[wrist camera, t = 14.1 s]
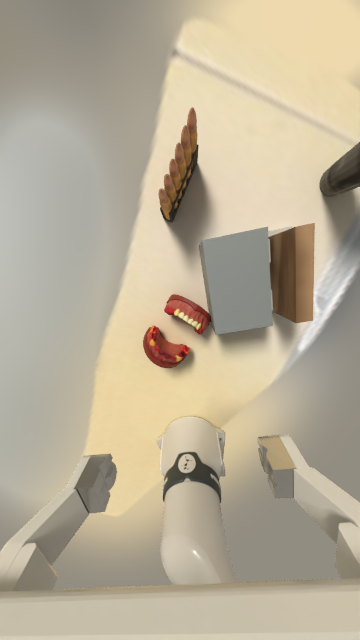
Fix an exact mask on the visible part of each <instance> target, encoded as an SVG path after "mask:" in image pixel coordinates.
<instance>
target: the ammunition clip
mask: <svg viewBox="0 0 360 640" xmlns="http://www.w3.org/2000/svg"><path fill="white" fill-rule="evenodd" d="M196 123H197V121H196V113H195V110H194V108H193V107H192V108H191V109H190V111H189V114H188V120H187V126H186V125H185V126H184V127H183V130H182V134H181V144H180V143H177V145H176V149H175V160H174V159H171V161H170V166H169V170H170V175H168V174H166V175H165V177H164V186H165V190H164V189H162V188H161V189H160V190H159V199H160V205H161V208H160V210H161V212H162V215H163V218H164V219H166V220H168V221H170V222H172V221H173V219H174V217H175V214H176V212H177V210H178V207H179V205H180V202H181V200H182V198H183V195H184V193H185V191H186V188H187V186H188V183H189V181H190V179H191V176H192V174H193V172H194V169H195V167H196V164H197V158H198V145H197V126H196Z"/></svg>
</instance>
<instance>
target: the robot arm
mask: <svg viewBox="0 0 360 640" xmlns="http://www.w3.org/2000/svg"><path fill="white" fill-rule="evenodd" d="M224 443H225V432H224V431H223V430H221V429H218V428H215V427H214V426H213V425H211V424H210V423H209V422H208V421H206V420H204V419H202V418H198V417H192V416H189V417H182V418H179V419H176V420H174V421H173V422H172V423H170V424H169V425H168V427H167V428H166V430H165V432H164V433H163V434H162V435H161V436H159V437H158V439H157V444H158V446H159V448H160V450H161V459H160V471H161V472H162V474H163V476H164V477H165V478H164V484H163V501H164V511H163V522H162V532H161V542H160V543H161V544H160V554H161V560H162V563H163V567H164V569H165V572H166V574H167V576H168V577H169V579H170V581H171V582H172V583H173V585H163V586H136V587H110V588H85V589H61V590H60V589H59V590H53V588H54V585H55V583H56V580H57V573H56V572H55V571H54V569H53V568H52V564H53V563H54V562H55V560H56V559H57V558H58V556H59V555H60V553H61V552H62V551H63V549H64V548H65V547H66V545H67V544H68V542H69V541H70V540H71V538H72V537H73V536H74V534H75V533H76V532H77V530H78V529H79V528H80V526H81V525H82V523H83V522H84V521H85V519H86V518H87V516H88V515H89V513H97V512H105V509H106V506H107V503H108V501H109V498H110V492H109V490H110V489H111V488H112V486H113V485H114V483H115V479H116V473H117V470H116V465H115V464H114V463H113V462H112V456H111V454H101V455H89V456H84V457H83V458H82V459H81V460H80V462H79V463H78V465H77V467H76V469H75V471H74V472H73V474H72V476H71V478H70V480H69V481H68V483H67V485H66V487H65V489H64V490H62V491H60V492H59V493H58V494H57V495H56V496H55V497H54V498H53V499H52V500H51V501H50V502H49V503H48V504H47V505H45V506H44V507H43V508H42V509H41V510H40V511H39V512H38V513H37V514H36V515H35V516H34V517H33V518H32V519H31V520H30V521H29V522H28V523H27V524H26V525H25V526H24V527H22V528H21V530H19V531H18V532H17V533H16V534H15V535H14V536H13V537H12V538H11V539H10V540H9V541H8V542H7V543H6V544H5V546H4V547H3V549H2V550H1V552H0V640H360V503H359V502H358V501H357V500H355V499H354V498H352V497H351V496H350V495H349V494H347V493H346V492H345V491H343V490H342V489H341V488H339V487H338V486H337V485H335V484H334V483H333V482H331V481H330V480H329V479H327V478H326V477H325V476H323V475H322V474H321V473H319V472H318V471H317V470H315V469H314V468H313V467H312V468H309V466H308V465H307V463H306V461H305V460H304V458H303V457H302V455H301V453H300V452H299V450H298V448H297V447H296V445H295V444H294V442H293V440H292V439H291V437H290V436H289V435H288V434H283V435H271V436H263V437H258V444H259V446H260V448H259V456H260V460H261V463H262V466H263V469H264V471H265V472H266V473H267V474H268V482H269V485H270V488H271V490H272V493H273V495H274V498H293V497H294V499H295V500H296V501H297V502H298V503H299V504H300V505H301V507H302V508H303V509H304V510H305V511H306V512H307V513H308V514H309V515H310V516H311V517H312V518H313V519H314V520H315V522H316V523H318V525H319V526H320V527H321V528H322V529H323V530H324V531H325V532H326V533H327V534H328V535H329V537H330V538H331V539H332V540H333V541H334V542H335V543H336V544H337V551H336V561H335V567H336V569H337V571H338V573H339V575H340V577H341V579H320V580H319V579H318V580H293V581H269V582H268V581H265V582H238V580H237V577H236V574H235V572H234V569H233V565H232V562H231V559H230V555H229V551H228V546H227V541H226V537H225V531H224V526H223V520H222V514H221V507H220V503H221V488H220V483H219V477H220V476H225V468H224V463H223V453H224Z"/></svg>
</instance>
